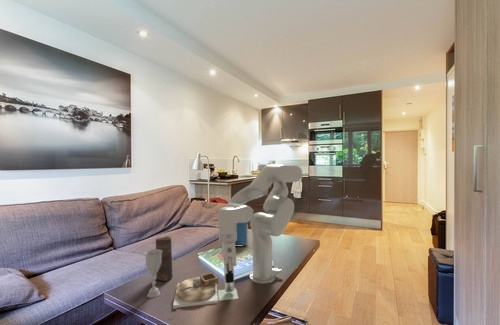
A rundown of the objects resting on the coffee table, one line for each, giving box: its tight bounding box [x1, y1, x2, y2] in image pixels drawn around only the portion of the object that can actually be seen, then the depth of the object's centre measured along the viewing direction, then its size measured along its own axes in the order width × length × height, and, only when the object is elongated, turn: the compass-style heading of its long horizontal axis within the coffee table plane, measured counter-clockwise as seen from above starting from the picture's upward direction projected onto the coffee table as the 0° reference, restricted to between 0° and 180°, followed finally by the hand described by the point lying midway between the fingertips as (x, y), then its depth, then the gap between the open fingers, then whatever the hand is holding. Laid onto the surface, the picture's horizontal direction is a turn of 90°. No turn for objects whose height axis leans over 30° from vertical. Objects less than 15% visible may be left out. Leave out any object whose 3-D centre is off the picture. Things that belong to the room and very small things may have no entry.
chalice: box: [144, 248, 163, 299], centre depth 101 cm, size 7×7×18 cm
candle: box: [155, 235, 173, 282], centre depth 115 cm, size 8×7×20 cm
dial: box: [176, 272, 219, 302], centre depth 101 cm, size 17×16×5 cm
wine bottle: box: [235, 222, 249, 246], centre depth 164 cm, size 14×13×30 cm
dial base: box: [172, 282, 219, 310], centre depth 101 cm, size 17×17×2 cm
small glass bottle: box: [223, 264, 235, 292], centre depth 101 cm, size 4×4×12 cm
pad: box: [217, 287, 239, 302], centre depth 100 cm, size 8×8×1 cm
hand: (229, 279), depth 101 cm, fingers closed on small glass bottle, 4 cm apart
